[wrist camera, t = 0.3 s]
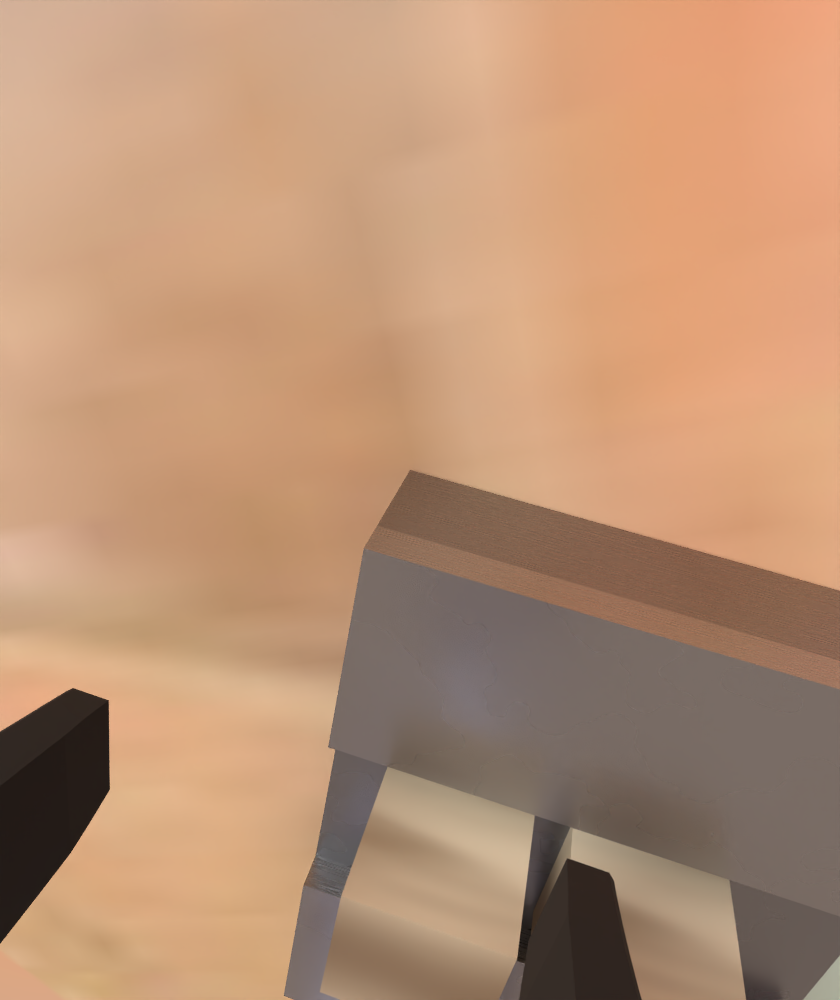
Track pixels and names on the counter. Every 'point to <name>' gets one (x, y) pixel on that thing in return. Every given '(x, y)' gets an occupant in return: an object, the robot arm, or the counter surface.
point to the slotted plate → (594, 713)
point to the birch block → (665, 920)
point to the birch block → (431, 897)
